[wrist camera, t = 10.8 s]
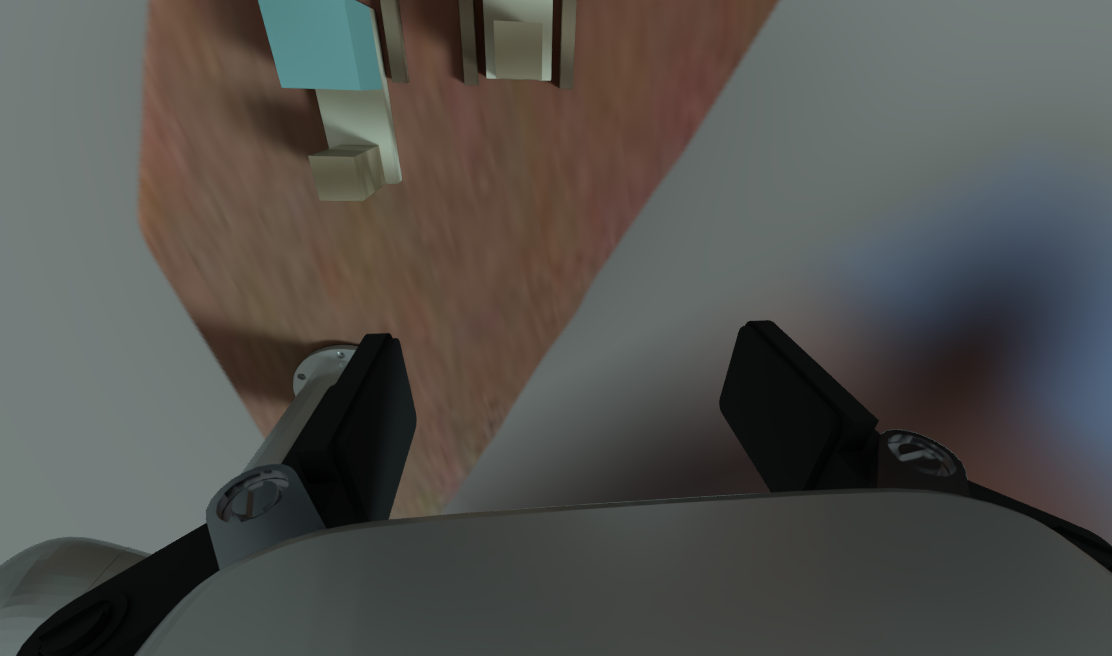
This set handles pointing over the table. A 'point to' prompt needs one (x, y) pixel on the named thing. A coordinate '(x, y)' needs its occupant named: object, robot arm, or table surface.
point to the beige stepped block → (356, 139)
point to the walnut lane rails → (473, 42)
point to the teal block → (322, 44)
